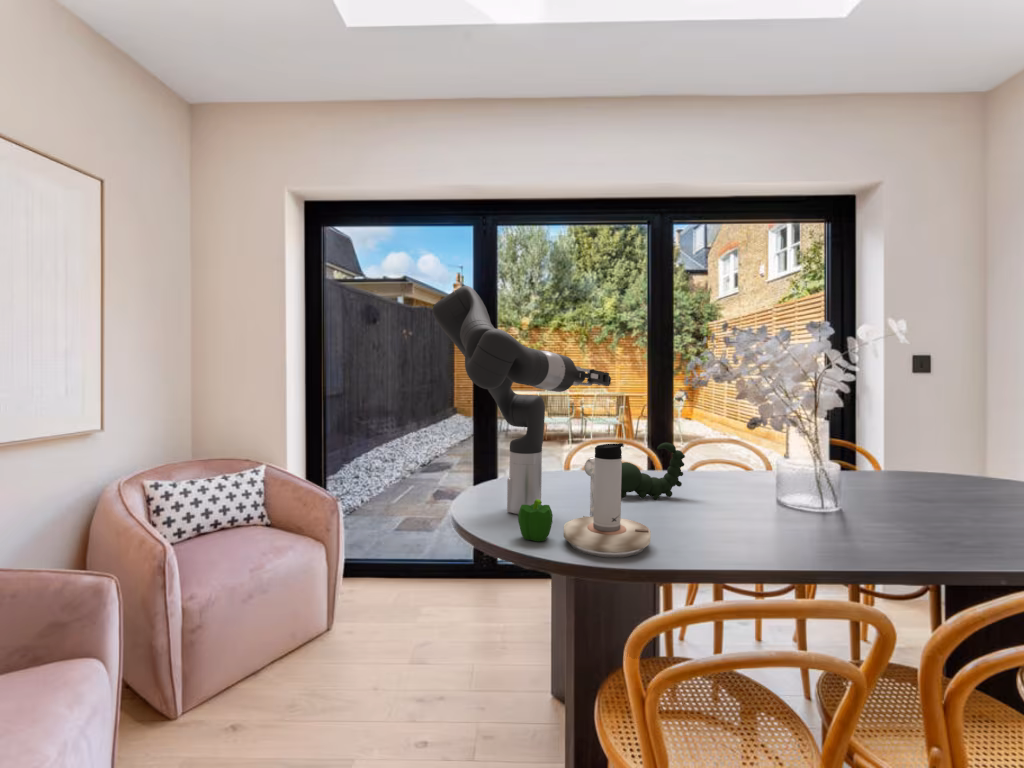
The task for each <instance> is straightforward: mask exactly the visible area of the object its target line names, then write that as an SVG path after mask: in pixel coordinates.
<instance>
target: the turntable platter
mask: <svg viewBox="0 0 1024 768" xmlns="http://www.w3.org/2000/svg"><path fill="white" fill-rule="evenodd" d="M593 521H594V520H593V517H590V516H588V517H583V516H582V517H578V518H577V517H576V518H574V519H570V520H568V521H567V522H565V523H564V525H563V538H564V540H566V541H567V542H568V543H569V544H570V543H572V544H574V545H576V546H579V547H582V548H586V549H591V550H596V551H605V552H627V551H634V550H639V549H642V548H643V549H645V548H646V547H649V545H650V544H651V537H652V536H651V535H652V534H651V529H650V528H649V527H648V526H646V525H645V524H643V523H640V522H638V521H635V520H631V519H627V518H622V517H621V521H620V529H619V530H618V531H615V532H603V531H599V530H596V529H595V528H594V527H593Z"/></svg>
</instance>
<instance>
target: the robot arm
mask: <svg viewBox="0 0 1024 768" xmlns="http://www.w3.org/2000/svg"><path fill="white" fill-rule="evenodd" d="M432 315H433V317H434V319H435V321H436V322H437V324H438V325H439V327H440V328H441V329H442V330H443V332H444V333H445V334H446V335H447V336H448V338H449V339H450V340H451V342H452V343H453V344H454V345H455V346H456V347H457V349H458V350H459V351H460V352H461V354H462V355H463V356H464V368H465V372H466V375H467V376H468V378H469V379H470V380H471V382H472V383H473V384H474V385H476V386H478V387H479V388H482V389H484V390H487V391H488V393H489V394H490V395H491V397H492V398H493V399H494V402H495V403H496V405H497V406H498V407H497V408H498V409H499V410H500V413H501V415H502V416H503V418H504V420H505V421H506V423H507V424H508V425H510V426H511V427H518V428H526V433H525V434H524V435H522V436H521V437H519V438H515V439H513V440H511V441H510V443H509V468H508V469H509V471H508V472H509V473H508V474H509V477H508V478H507V480H506V481H507V488H506V489H507V492H506V493H507V495H506V496H507V497H506V501H507V502H506V511H507V513H512V514H514V515H518V513H519V510H520V507H521V505H531V504H534V501H535V500H536V499H539V500H541V501H542V482H543V481H542V476H543V475H542V472H543V471H542V470H543V467H542V466H543V465H542V463H543V443H544V430H545V416H546V406H545V401H544V399H543V397H541V396H540V395H535V394H519V393H518V394H517V393H515V392H514V391H513V389H512V386H513V383H514V384H518V385H525V386H530V387H533V388H536V389H539V390H546V391H550V392H556V393H561V392H565V391H567V390H569V389H570V388H571V387H572V386H586V387H591V386H593V385H597V386H604V387H609V386H611V384H612V383H611V381H612V378H611V375H610V373H609V372H606V371H600V370H597V369H594V368H591V369H590V368H584V367H581V366H577V365H576V364H575V363H574V360H572V359H571V357H569V356H567V355H563V354H560V353H555V352H551V351H548V350H539V349H535V348H531V347H528V346H525V345H524V344H522V343H520V341H518V340H517V339H515V337H514V336H513V335H511V334H510V333H508V332H507V331H505V330H502V329H500V328H495V327H494V324H492V322H491V317H490V315H489V313H488V309H487V307H486V305H485V304H484V301H483V299H482V298H481V297H480V295H479V294H478V293H477V292H476V290H475V289H474V288H473V287H471V286H468V285H463V286H461V287H459V288H456V289H455V290H454V291H452V292H450V293H448V294H447V295H445V296H444V297H443V298H441V299H440V300H438V301H437V302H436V303H435V304H434V305H433V306H432ZM586 379H587V380H586ZM585 381H586V382H585ZM540 505H542V503H541V504H540Z"/></svg>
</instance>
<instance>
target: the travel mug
mask: <svg viewBox="0 0 1024 768" xmlns="http://www.w3.org/2000/svg"><path fill="white" fill-rule="evenodd" d="M622 448H624V443H623V442H619V443H605V444H604V443H603V444H598V445H596V447H594V457H595V460H594V513H593V520H594V521H593V527H594V528H595V529H596V530H599V531H603V532H615V531H618V530H619V529H620V521H621V518H622V517H621V515H622V514H621V513H622V497H621V474H622V463H623V460H622V459H623V457H622V456H623V455H622V453H623V452H622Z"/></svg>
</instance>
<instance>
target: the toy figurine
mask: <svg viewBox="0 0 1024 768" xmlns="http://www.w3.org/2000/svg"><path fill="white" fill-rule="evenodd" d="M662 449H665V450H666V451H668V452H669V453H672V454H671V458H670V460H669V466H668V467H667V469H666V473H665V474H664V475H663V477H659V478H658V477H655V476H653V477H652V476H650V475H649V474H647V473H644V472H641V469H640V468H639V467H638V466H637V465H636V464H633V463H632V462H627V461H626V462H622V474H621V498H625V497H626V496H627V493H633V492H635V493H636V494H637V496H638V497H639V498H640V499H645V498H646V497H647V496H650V497H652V498H653V499H654V500H656V501H657V500H659V499H660V497H661V496H662V495H663V494H664V495H665V496H666V497H668V498H670V497H672V496H673V491H672V489H673V487H675V486H676V487H679V488H680V487H682V485H683V483H682V482H681V481H680V480H679V478H680V477H683V476H684V472H683V471H682V467H684V466H685V463H684V462H683V460H684V459H685V458H686V455H685V454H684V453H683V452H682V450H679V449H677V448H676V446H675V444H673V443H670V442H662V443H660V444H658V446H657V448H656V450H658V451H659V450H662Z"/></svg>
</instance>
